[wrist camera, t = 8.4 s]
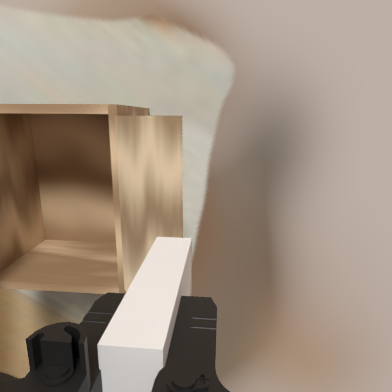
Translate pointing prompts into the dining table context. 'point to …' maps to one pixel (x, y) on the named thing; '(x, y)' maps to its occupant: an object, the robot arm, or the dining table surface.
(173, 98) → the dining table surface
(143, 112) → the carton
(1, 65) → the dining table surface
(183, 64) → the dining table surface
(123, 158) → the flap
